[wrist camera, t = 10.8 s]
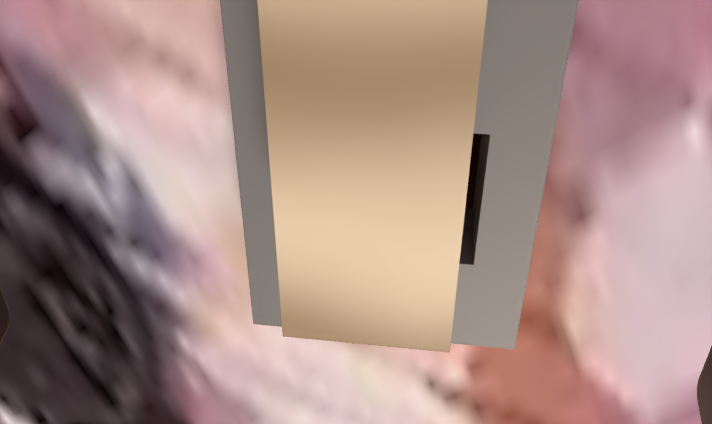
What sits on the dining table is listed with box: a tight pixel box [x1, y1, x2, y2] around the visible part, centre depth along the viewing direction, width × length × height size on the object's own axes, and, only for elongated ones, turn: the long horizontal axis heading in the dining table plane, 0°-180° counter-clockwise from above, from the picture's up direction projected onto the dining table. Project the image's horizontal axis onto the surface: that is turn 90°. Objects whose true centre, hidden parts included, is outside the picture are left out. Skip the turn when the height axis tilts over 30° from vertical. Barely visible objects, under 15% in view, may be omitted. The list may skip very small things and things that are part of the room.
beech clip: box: [257, 0, 488, 352], centre depth 15 cm, size 12×4×6 cm, turn 0°
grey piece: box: [220, 0, 578, 349], centre depth 17 cm, size 18×8×3 cm, turn 0°
